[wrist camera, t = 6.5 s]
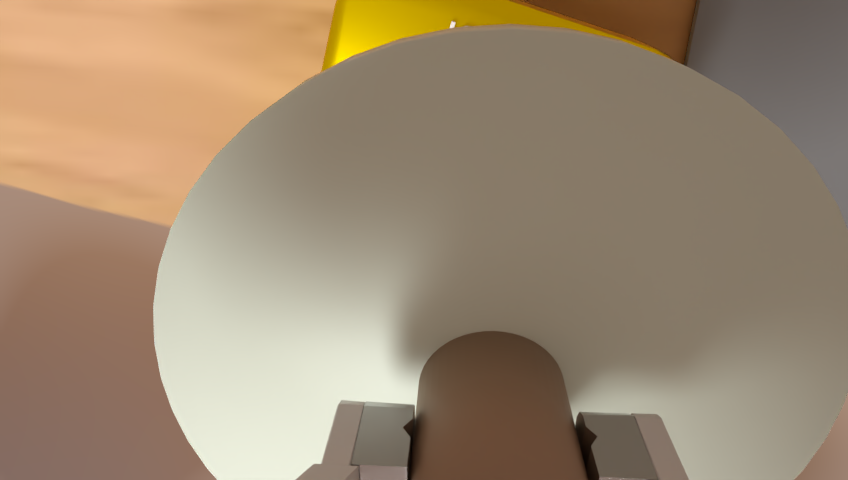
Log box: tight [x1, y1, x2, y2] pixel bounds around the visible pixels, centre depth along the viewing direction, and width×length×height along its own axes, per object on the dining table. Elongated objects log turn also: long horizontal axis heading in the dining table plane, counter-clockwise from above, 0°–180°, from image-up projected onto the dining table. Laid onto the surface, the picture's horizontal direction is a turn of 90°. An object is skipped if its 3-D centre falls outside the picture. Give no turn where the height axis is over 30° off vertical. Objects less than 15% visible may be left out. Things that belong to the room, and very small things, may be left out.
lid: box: [153, 24, 848, 480], centre depth 11 cm, size 15×15×6 cm
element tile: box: [321, 0, 672, 72], centre depth 27 cm, size 15×15×5 cm
